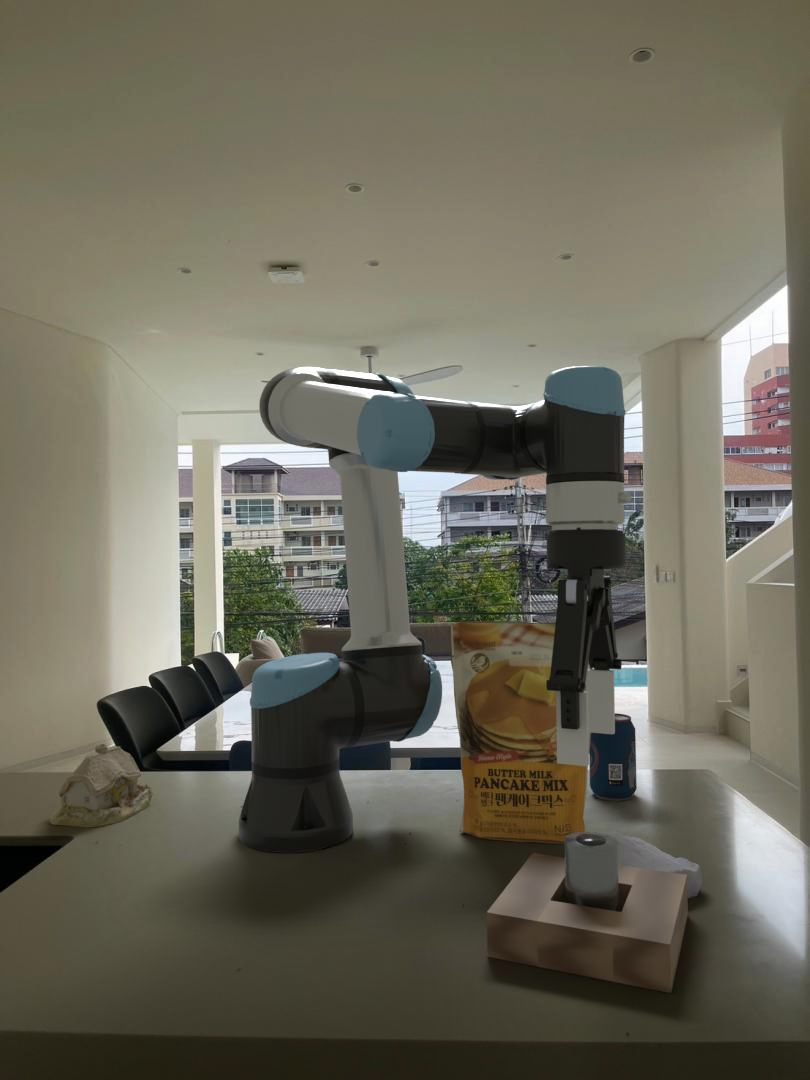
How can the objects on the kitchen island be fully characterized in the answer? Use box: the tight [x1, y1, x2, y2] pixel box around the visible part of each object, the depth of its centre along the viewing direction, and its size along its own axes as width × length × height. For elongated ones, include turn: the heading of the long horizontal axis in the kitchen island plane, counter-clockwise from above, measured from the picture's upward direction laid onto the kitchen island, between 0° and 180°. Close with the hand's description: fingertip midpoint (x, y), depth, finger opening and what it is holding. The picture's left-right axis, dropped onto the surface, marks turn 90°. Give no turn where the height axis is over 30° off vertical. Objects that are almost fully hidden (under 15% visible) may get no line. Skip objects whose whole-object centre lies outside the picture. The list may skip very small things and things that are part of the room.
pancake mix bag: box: [447, 620, 594, 845], centre depth 106 cm, size 7×19×28 cm, turn 78°
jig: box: [486, 852, 689, 994], centre depth 77 cm, size 16×16×4 cm
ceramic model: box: [49, 743, 154, 828], centre depth 117 cm, size 14×11×10 cm
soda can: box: [588, 713, 638, 802], centre depth 123 cm, size 7×7×12 cm
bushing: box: [564, 831, 619, 912], centre depth 77 cm, size 5×5×9 cm
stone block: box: [610, 834, 703, 899], centre depth 90 cm, size 12×5×10 cm
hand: (588, 747), depth 78 cm, fingers open, 13 cm apart
